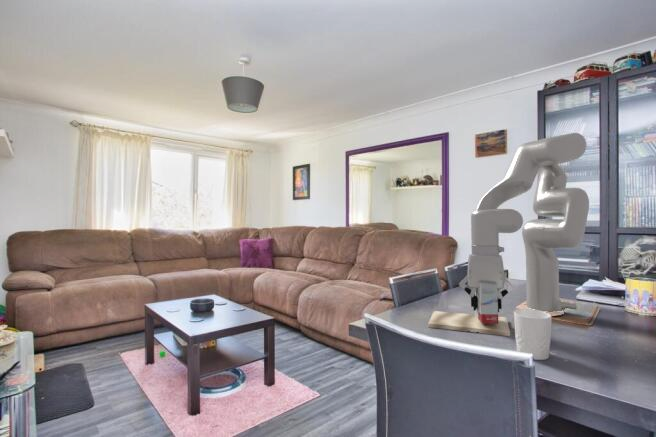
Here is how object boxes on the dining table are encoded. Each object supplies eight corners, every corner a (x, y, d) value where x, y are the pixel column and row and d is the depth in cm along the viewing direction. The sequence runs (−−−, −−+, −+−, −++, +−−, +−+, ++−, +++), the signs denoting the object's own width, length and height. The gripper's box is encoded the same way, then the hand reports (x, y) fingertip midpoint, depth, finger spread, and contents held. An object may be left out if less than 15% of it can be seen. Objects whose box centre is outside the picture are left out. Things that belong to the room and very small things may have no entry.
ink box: (499, 324, 100) (498, 283, 99) (481, 323, 101) (480, 283, 100) (491, 315, 108) (490, 278, 108) (474, 314, 109) (474, 277, 109)
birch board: (506, 321, 108) (506, 317, 108) (510, 336, 96) (510, 331, 96) (433, 314, 117) (433, 310, 117) (428, 327, 104) (428, 323, 104)
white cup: (508, 348, 87) (507, 309, 87) (539, 347, 87) (539, 308, 87) (524, 361, 80) (524, 318, 79) (559, 361, 79) (559, 318, 79)
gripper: (516, 250, 104) (517, 309, 104) (455, 248, 111) (456, 304, 111) (518, 253, 97) (519, 316, 97) (454, 251, 104) (455, 311, 104)
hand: (486, 309), depth 104 cm, fingers closed on ink box, 5 cm apart
